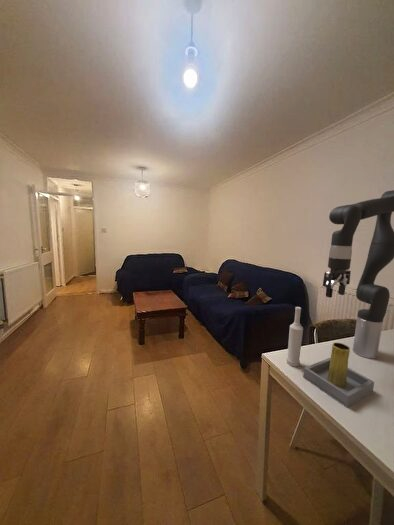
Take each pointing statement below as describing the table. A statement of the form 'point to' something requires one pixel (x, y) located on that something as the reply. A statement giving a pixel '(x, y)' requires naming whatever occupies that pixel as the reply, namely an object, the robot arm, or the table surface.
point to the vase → (338, 364)
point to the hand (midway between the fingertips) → (335, 295)
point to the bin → (345, 395)
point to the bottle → (295, 340)
